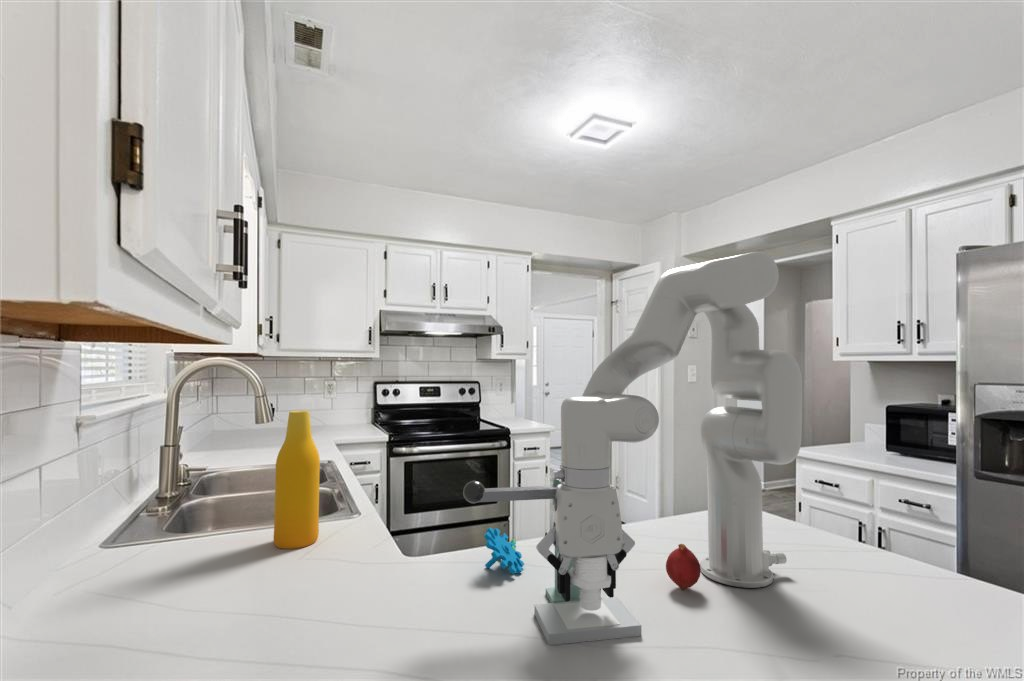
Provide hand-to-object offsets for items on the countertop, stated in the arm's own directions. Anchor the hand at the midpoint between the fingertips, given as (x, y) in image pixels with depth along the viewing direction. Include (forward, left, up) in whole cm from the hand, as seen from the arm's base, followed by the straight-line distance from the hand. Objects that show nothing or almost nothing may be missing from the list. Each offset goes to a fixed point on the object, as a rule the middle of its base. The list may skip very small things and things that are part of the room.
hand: (586, 594), depth 77 cm
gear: (+9, -23, -5) cm, 25 cm away
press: (0, -2, -4) cm, 5 cm away
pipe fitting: (0, 0, -2) cm, 2 cm away
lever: (+8, -8, +12) cm, 17 cm away
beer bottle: (+52, -45, -5) cm, 69 cm away
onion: (-21, -8, -5) cm, 23 cm away
